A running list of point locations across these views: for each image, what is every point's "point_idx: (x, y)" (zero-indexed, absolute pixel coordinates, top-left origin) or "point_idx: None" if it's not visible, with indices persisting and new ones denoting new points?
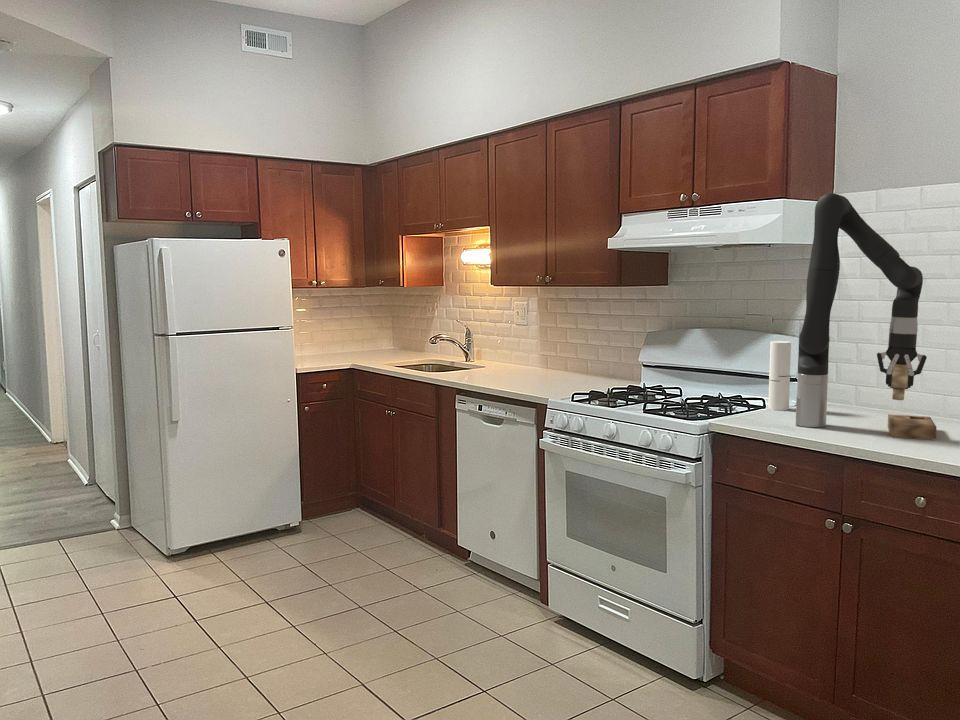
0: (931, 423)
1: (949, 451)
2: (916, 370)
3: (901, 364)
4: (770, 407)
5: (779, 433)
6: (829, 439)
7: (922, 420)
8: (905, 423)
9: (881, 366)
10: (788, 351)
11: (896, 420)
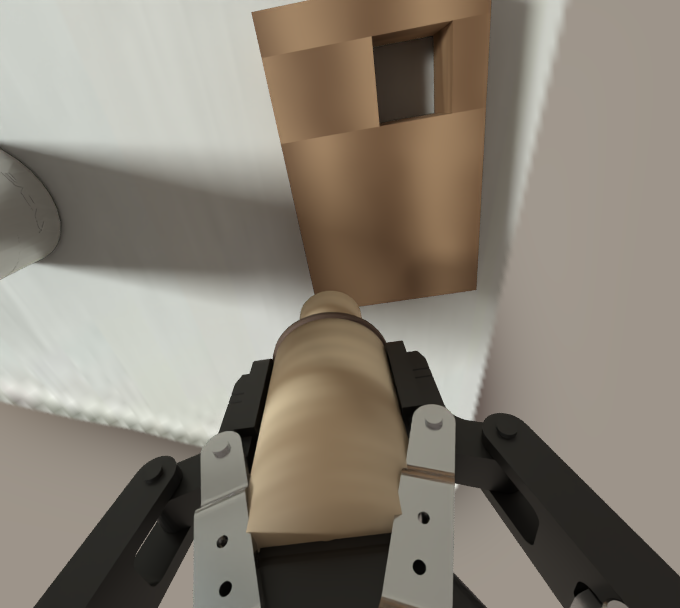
0: (467, 221)
1: (472, 398)
2: (486, 484)
3: None
4: None
5: (36, 390)
6: (183, 401)
7: (436, 154)
8: (365, 276)
9: (162, 563)
10: None
11: (324, 220)
